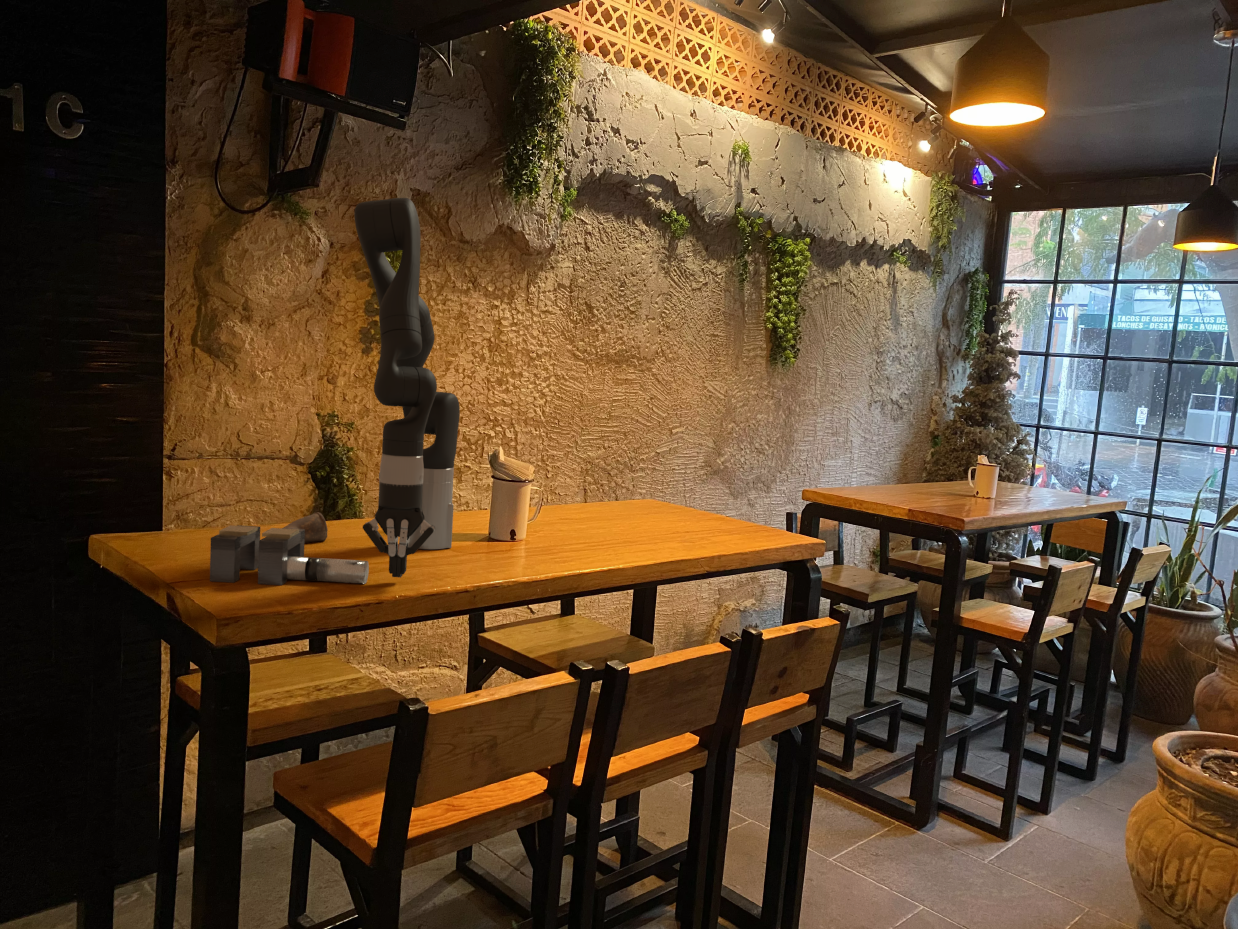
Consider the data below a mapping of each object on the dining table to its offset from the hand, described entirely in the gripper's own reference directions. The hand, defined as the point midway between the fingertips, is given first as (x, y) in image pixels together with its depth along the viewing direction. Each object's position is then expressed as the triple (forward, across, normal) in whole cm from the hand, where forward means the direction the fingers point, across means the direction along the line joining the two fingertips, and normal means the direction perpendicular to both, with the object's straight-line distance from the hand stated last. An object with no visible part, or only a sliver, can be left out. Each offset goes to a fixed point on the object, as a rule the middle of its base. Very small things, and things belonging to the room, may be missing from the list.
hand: (397, 576), depth 156 cm
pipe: (+2, +24, -26) cm, 36 cm away
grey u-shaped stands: (+1, +24, 0) cm, 24 cm away
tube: (+1, +14, 0) cm, 14 cm away
